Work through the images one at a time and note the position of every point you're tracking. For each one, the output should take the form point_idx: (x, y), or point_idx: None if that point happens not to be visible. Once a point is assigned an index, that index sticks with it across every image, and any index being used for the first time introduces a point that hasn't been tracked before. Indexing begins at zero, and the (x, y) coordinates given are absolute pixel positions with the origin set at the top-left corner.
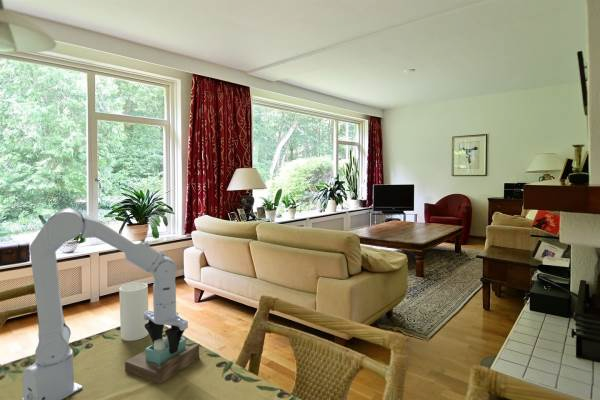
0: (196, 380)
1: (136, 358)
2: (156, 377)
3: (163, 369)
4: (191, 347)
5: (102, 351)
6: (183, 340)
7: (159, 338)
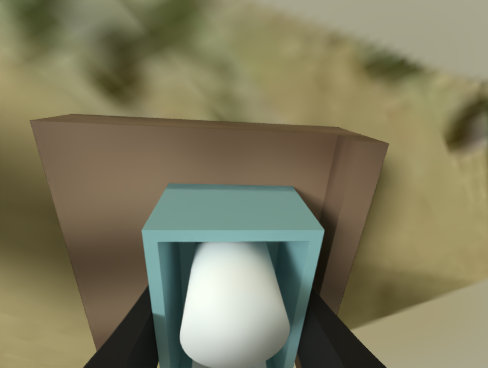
0: (404, 256)
1: None
2: None
3: None
4: (356, 202)
5: None
6: (319, 249)
7: (145, 350)
